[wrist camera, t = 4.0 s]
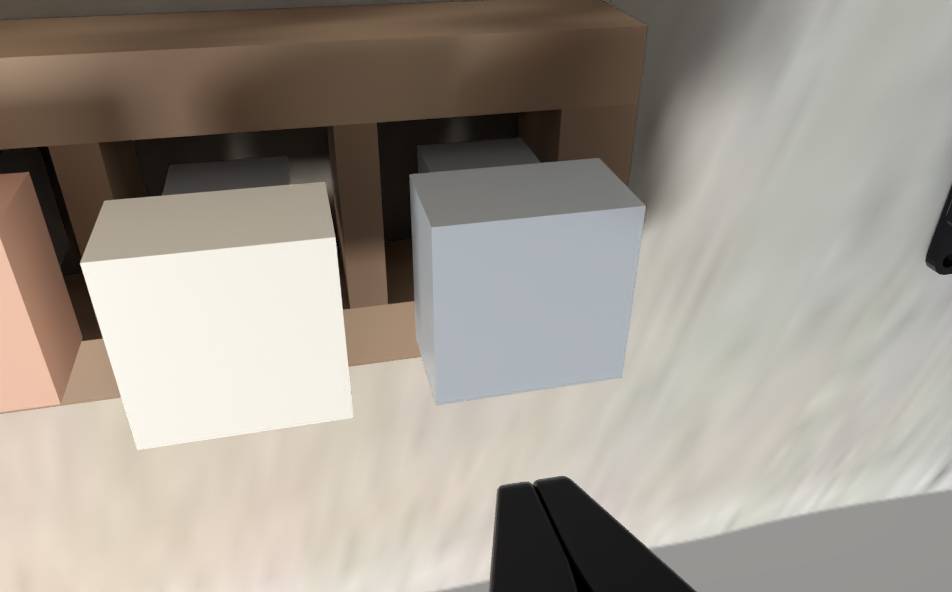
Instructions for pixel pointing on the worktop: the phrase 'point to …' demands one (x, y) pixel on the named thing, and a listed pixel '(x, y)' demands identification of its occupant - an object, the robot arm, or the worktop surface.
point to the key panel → (312, 114)
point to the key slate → (520, 269)
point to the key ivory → (221, 303)
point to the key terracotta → (33, 288)
